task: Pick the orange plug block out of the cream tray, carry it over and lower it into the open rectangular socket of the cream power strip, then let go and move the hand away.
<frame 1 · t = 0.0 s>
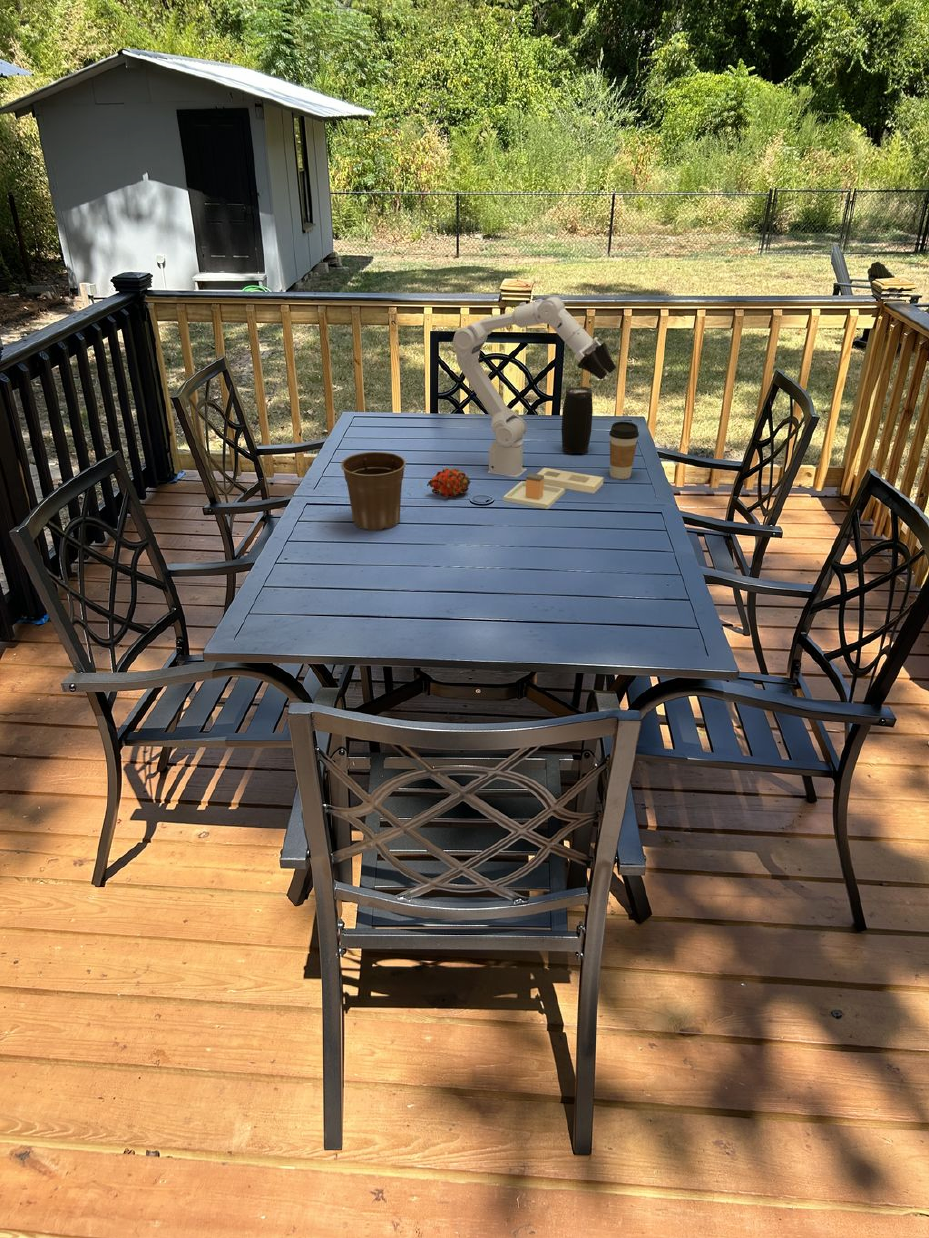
hand: (608, 373, 240), 32 cm above the table, tool tilted 50°, fingers open, 7 cm apart
tray: (534, 498, 249), on the table
red lumpy ovoid: (448, 496, 251), on the table
coffee cup: (620, 476, 264), on the table
plug: (534, 496, 248), point 1 cm above the table, touching tray
plant pot: (376, 522, 235), on the table
power strip: (568, 485, 257), on the table
portable speaker: (575, 452, 282), on the table
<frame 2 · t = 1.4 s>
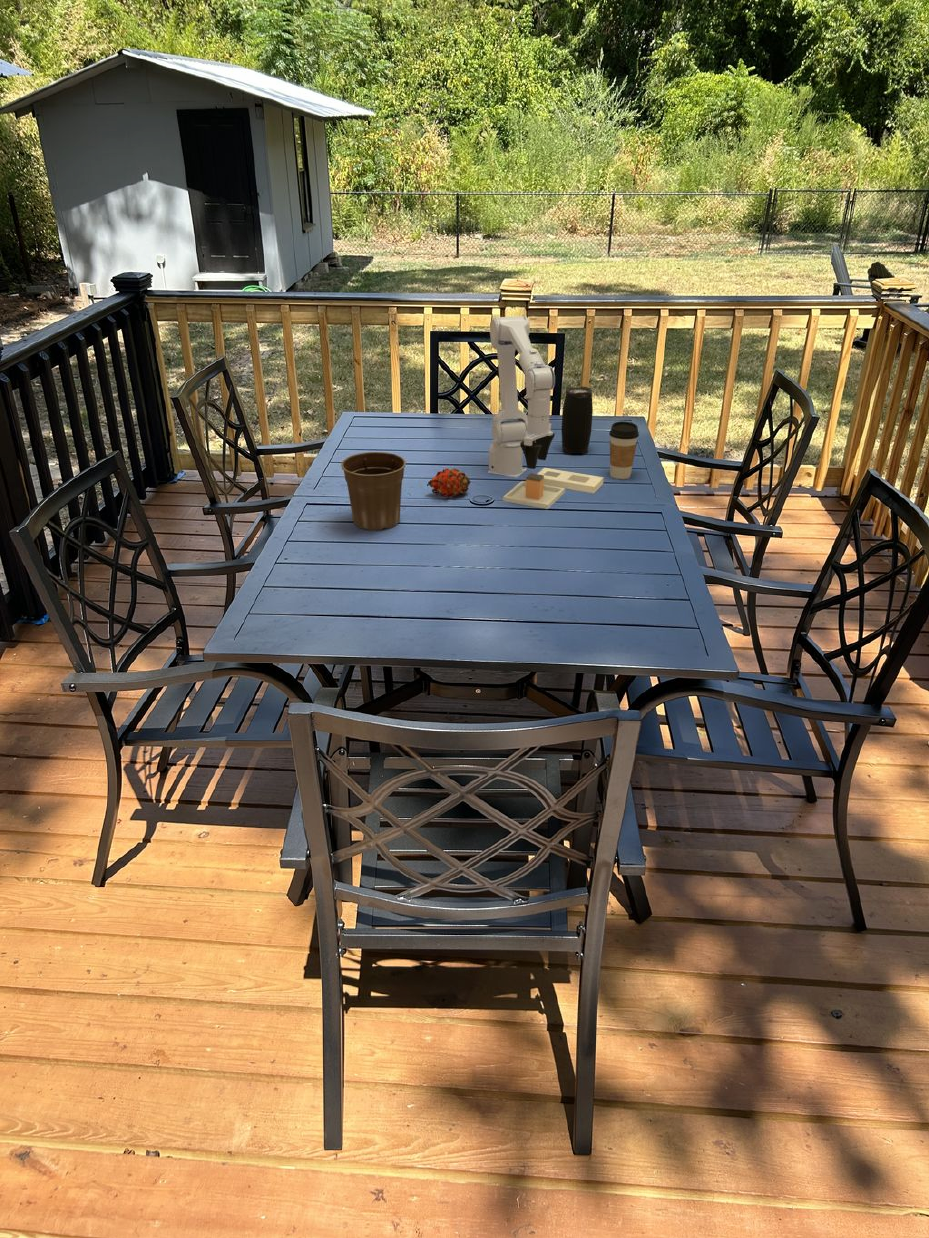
hand: (536, 463, 244), 10 cm above the table, tool pointing down, fingers open, 7 cm apart
nothing on the table moved.
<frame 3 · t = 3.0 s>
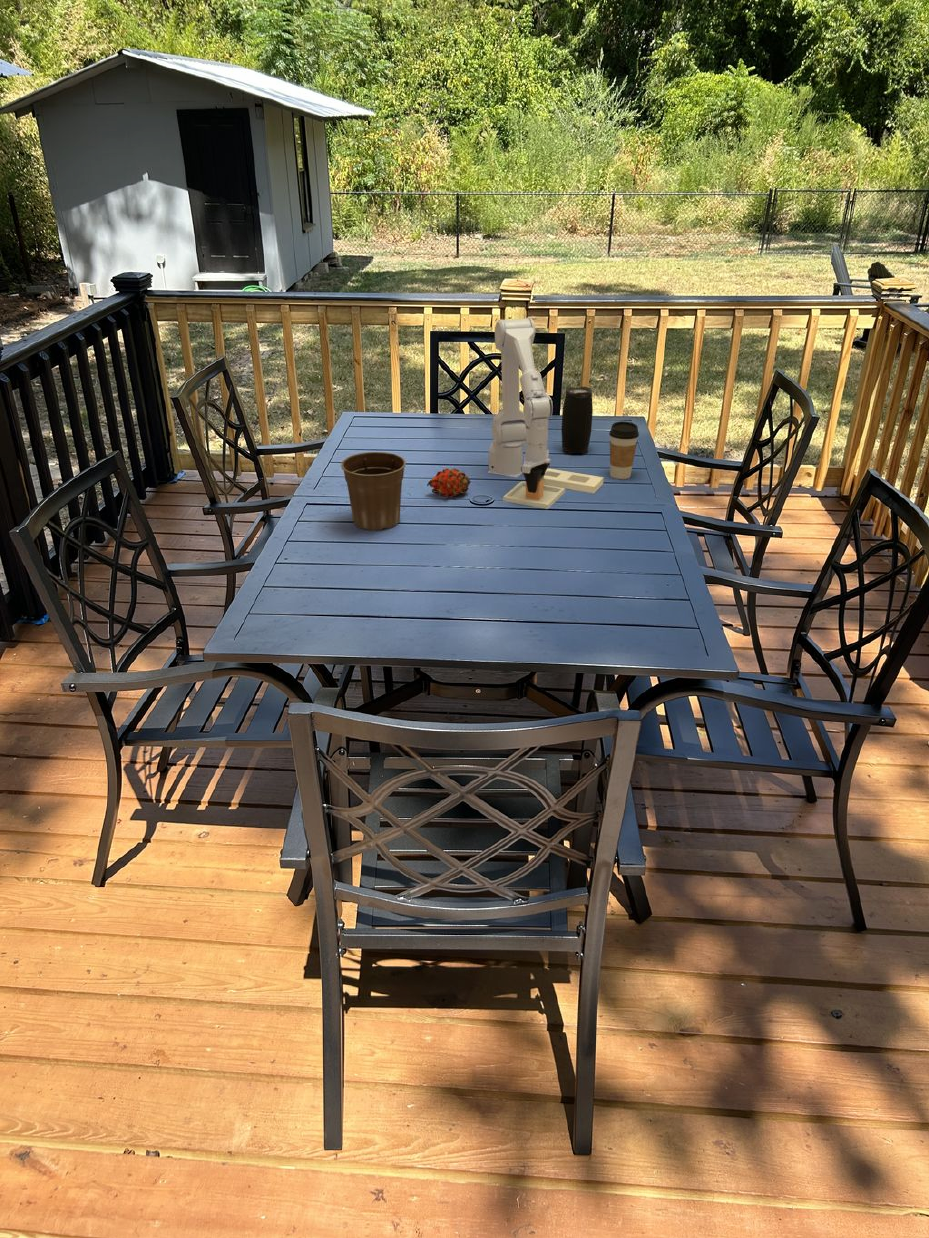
hand: (534, 489, 247), 3 cm above the table, tool pointing down, fingers closed on plug, 3 cm apart
plug: (534, 496, 248), point 1 cm above the table, touching gripper, tray
everything else where it was.
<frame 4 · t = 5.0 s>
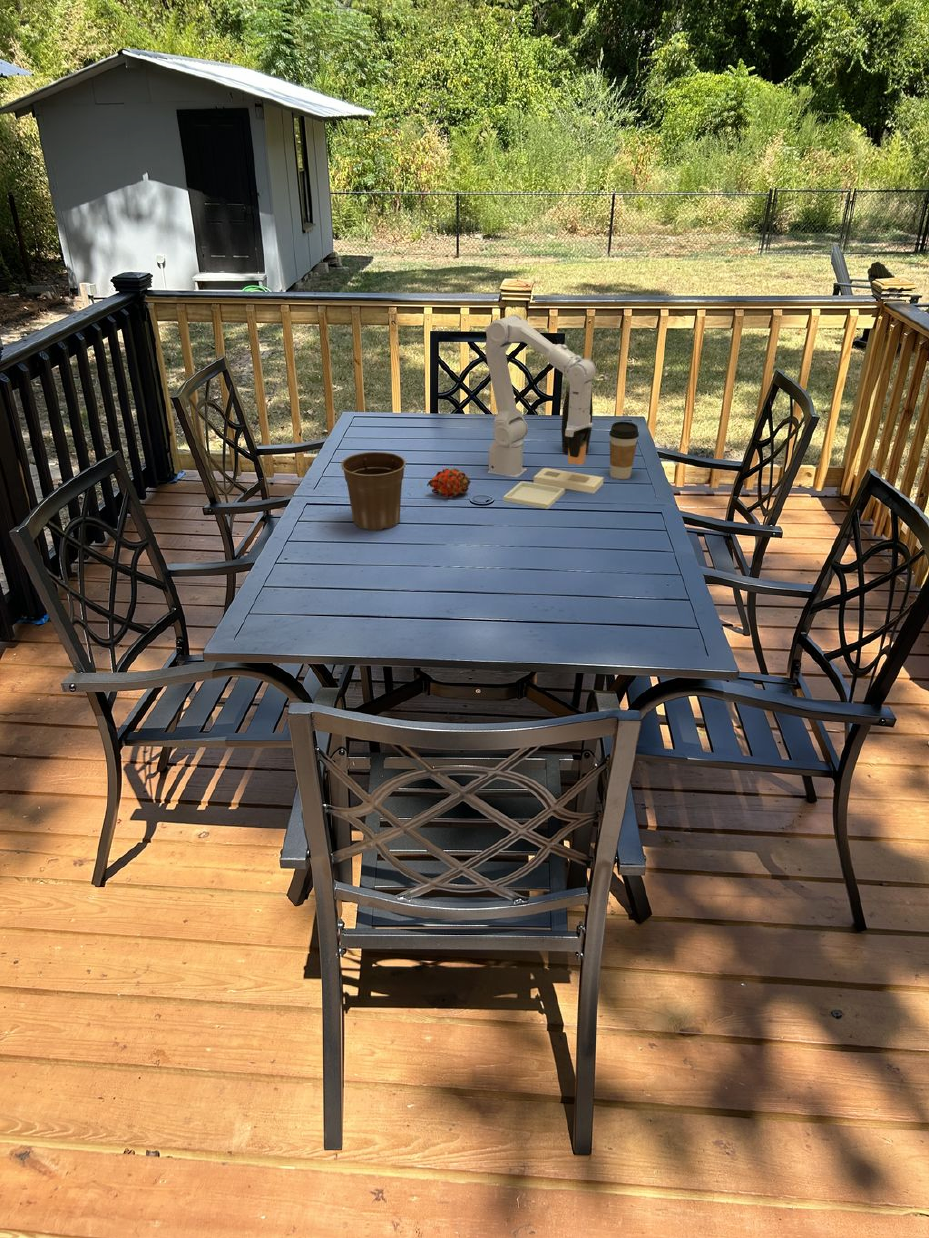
hand: (576, 454, 251), 10 cm above the table, tool pointing down, fingers closed on plug, 3 cm apart
plug: (576, 462, 252), point 8 cm above the table, touching gripper
everything else where it was.
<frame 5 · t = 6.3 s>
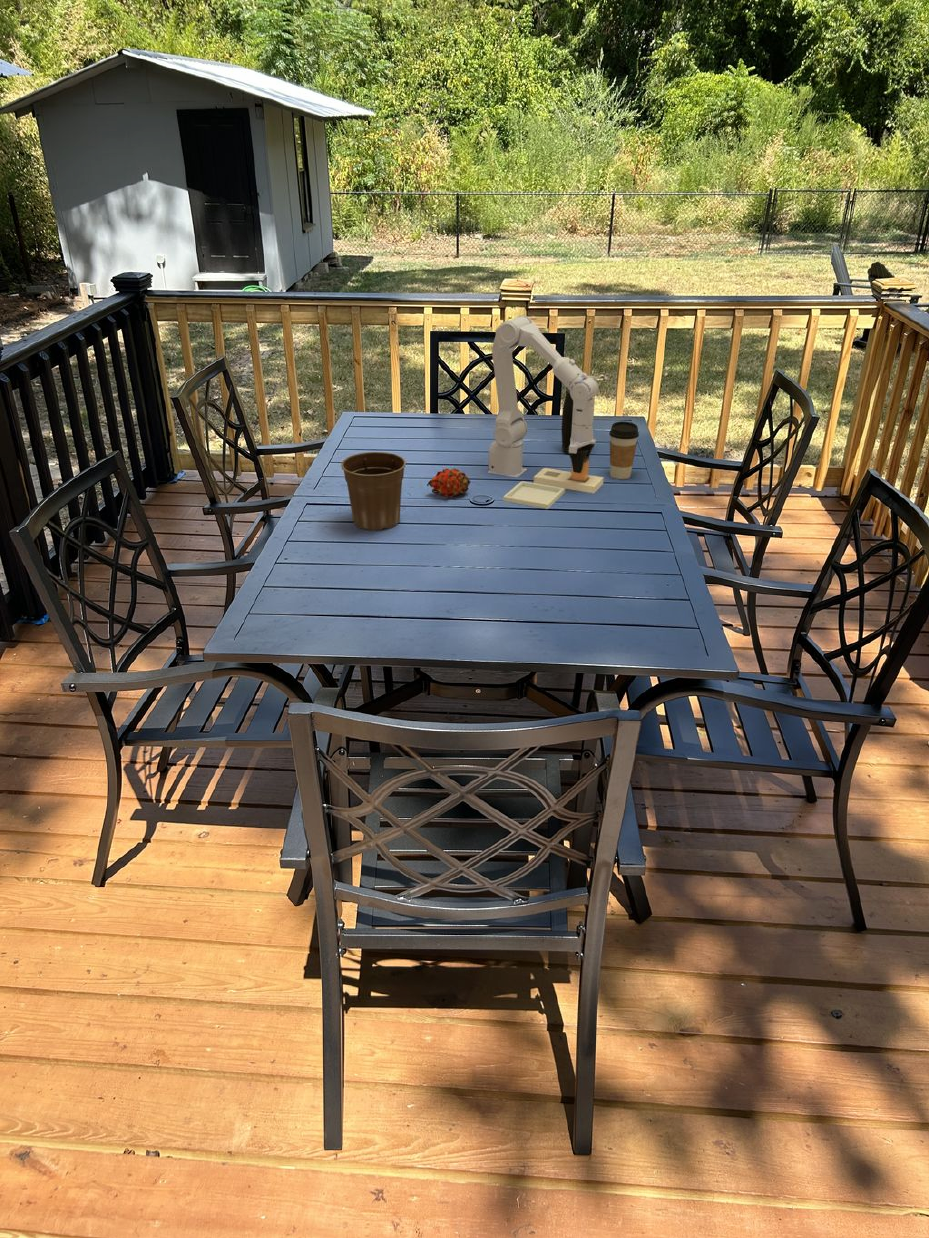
hand: (579, 470, 254), 5 cm above the table, tool pointing down, fingers closed on plug, 3 cm apart
plug: (579, 477, 255), point 3 cm above the table, touching gripper
everything else where it was.
when the fingers open (3 cm above the table, at t = 7.1 s): plug stays where it is, resting on power strip.
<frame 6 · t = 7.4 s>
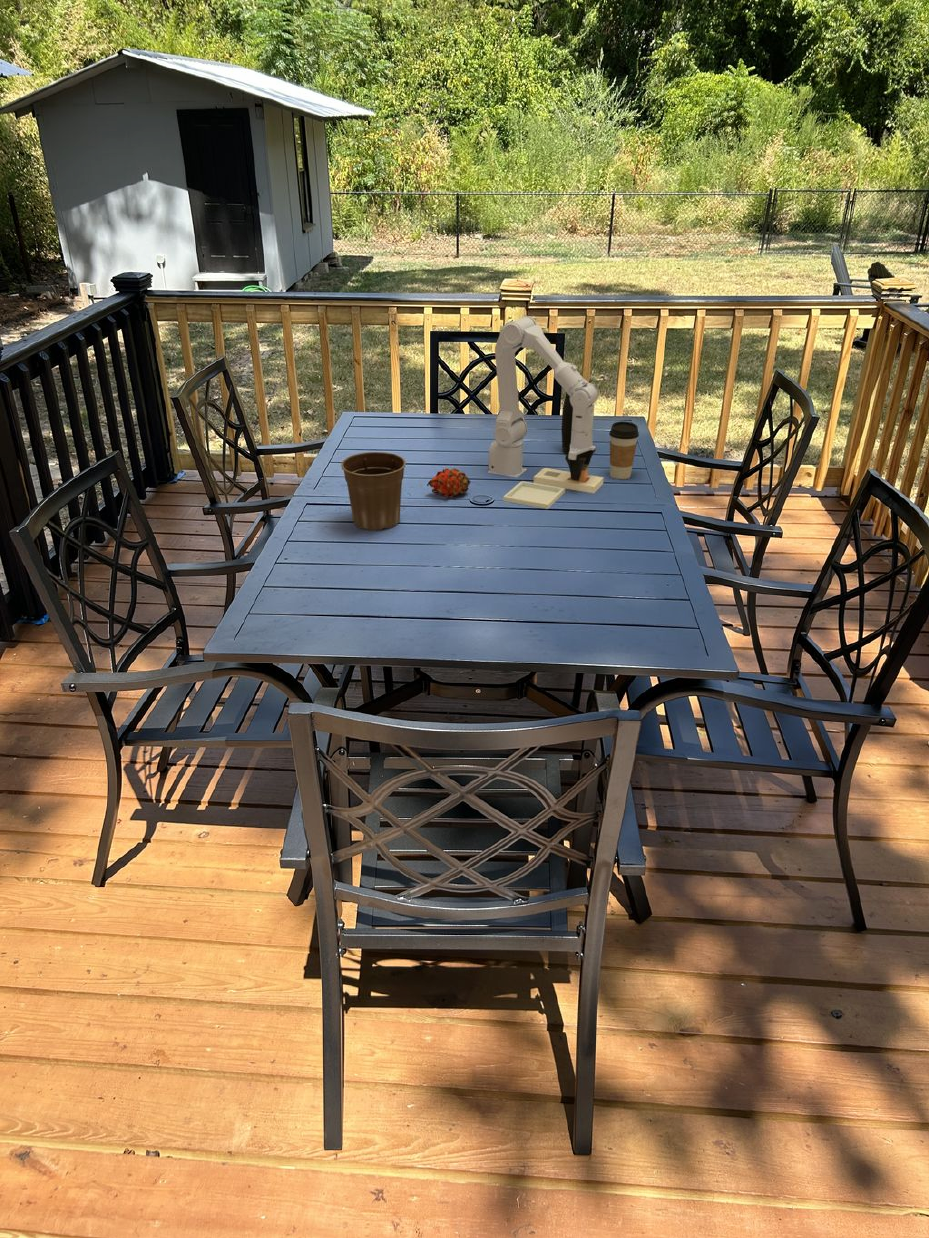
hand: (578, 476, 255), 3 cm above the table, tool pointing down, fingers open, 5 cm apart
plug: (578, 485, 256), resting on power strip
everything else where it was.
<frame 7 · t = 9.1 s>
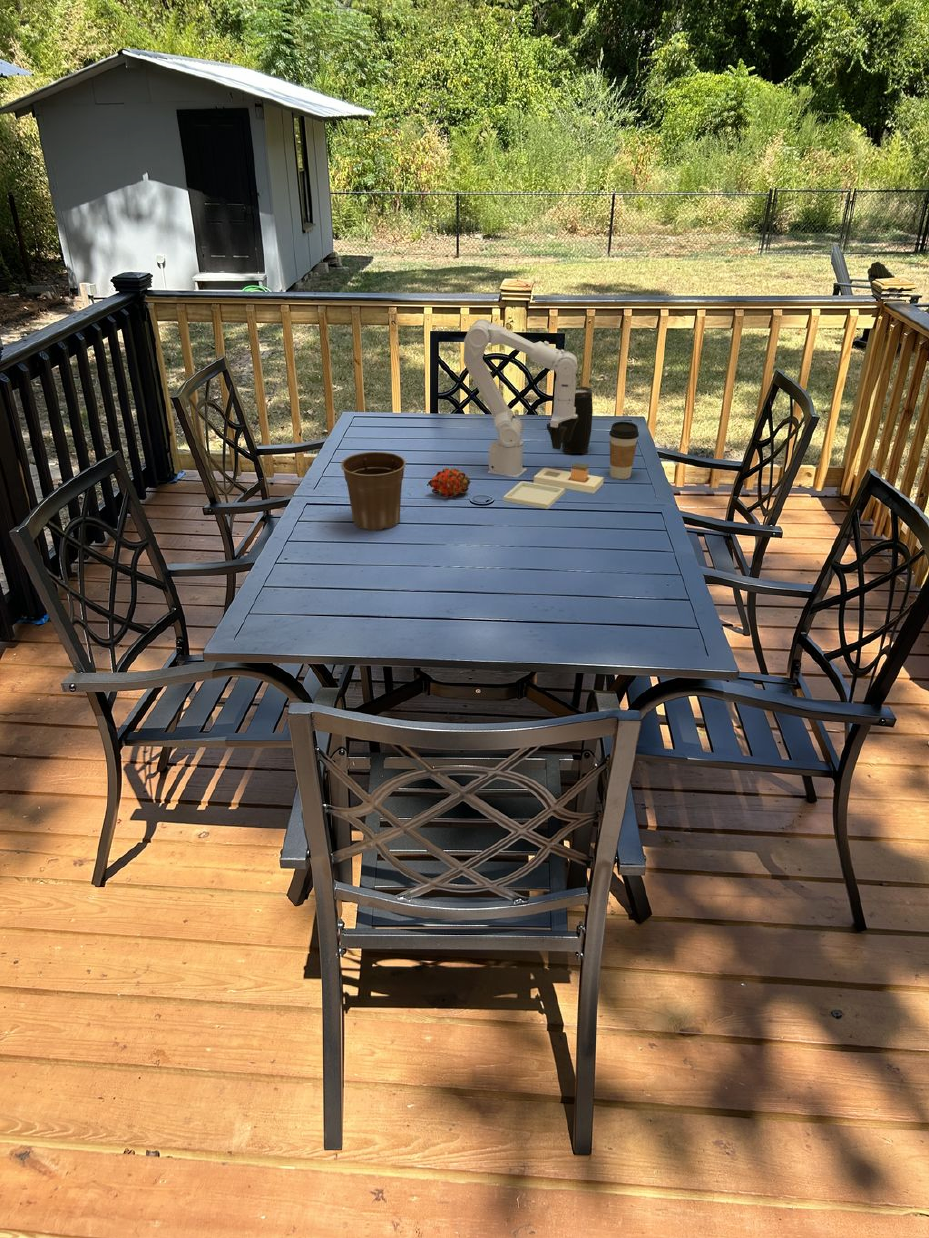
hand: (561, 444, 259), 9 cm above the table, tool pointing down, fingers open, 7 cm apart
nothing on the table moved.
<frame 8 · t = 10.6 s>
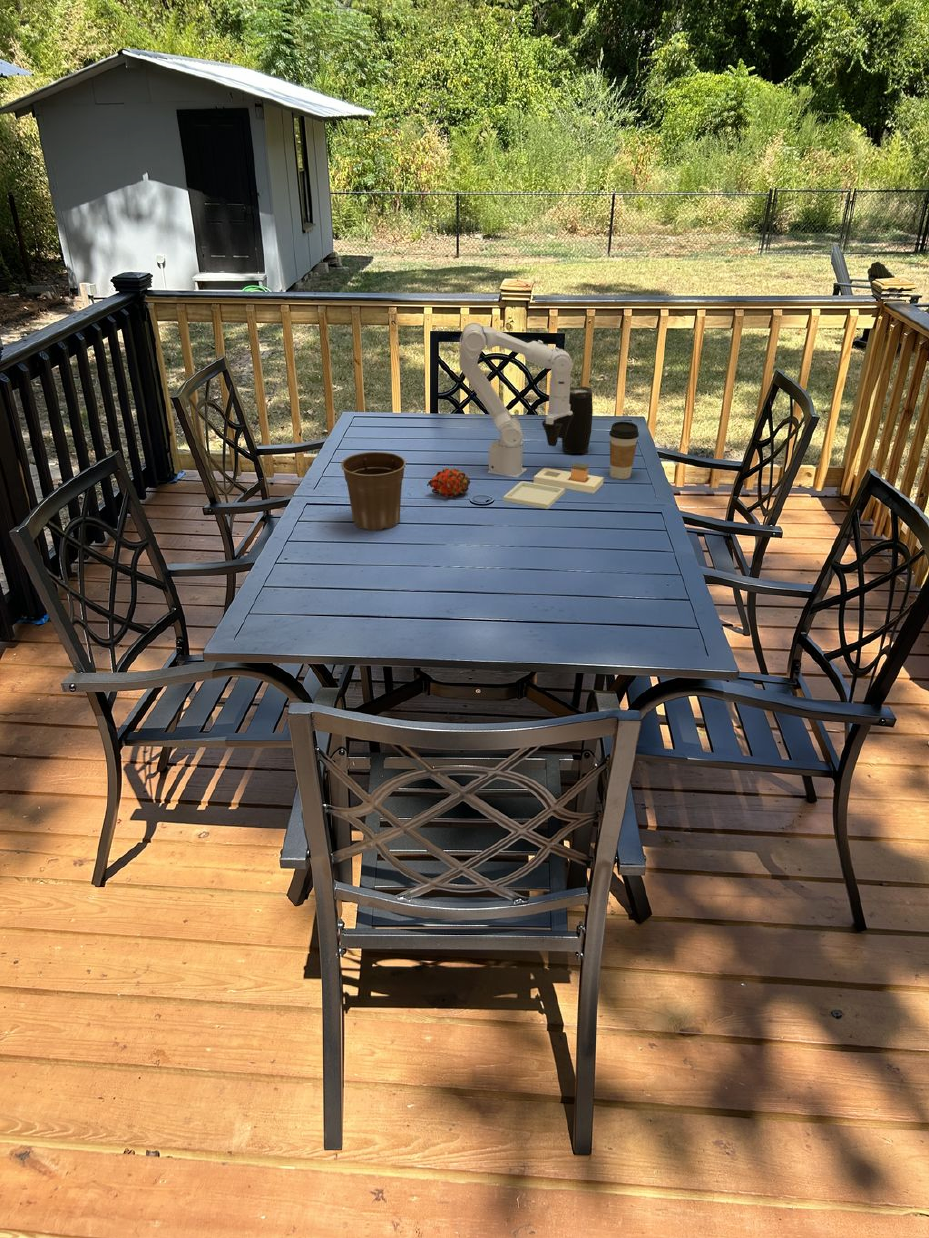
hand: (556, 441, 262), 9 cm above the table, tool pointing down, fingers open, 7 cm apart
nothing on the table moved.
at the end: plug 0.1 cm from the target spot on the power strip, point 0.5 cm above the power strip's base; plug tilted 0°; the gripper is holding nothing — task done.
